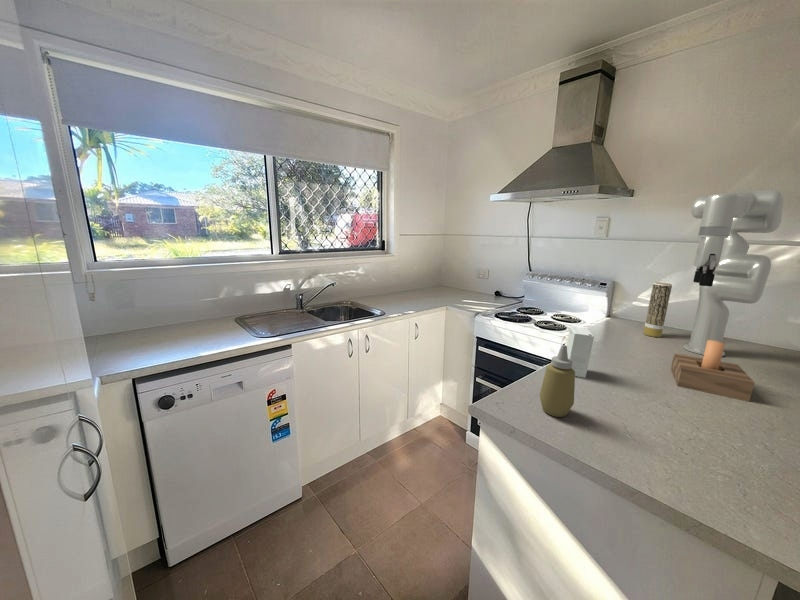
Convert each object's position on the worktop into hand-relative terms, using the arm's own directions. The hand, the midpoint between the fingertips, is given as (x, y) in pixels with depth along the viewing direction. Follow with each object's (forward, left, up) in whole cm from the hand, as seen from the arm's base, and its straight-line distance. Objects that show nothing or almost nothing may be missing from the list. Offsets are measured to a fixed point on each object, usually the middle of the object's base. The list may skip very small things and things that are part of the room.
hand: (702, 284), depth 111 cm
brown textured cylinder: (-42, -6, -31) cm, 52 cm away
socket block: (+13, +4, -30) cm, 33 cm away
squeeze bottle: (+61, -34, -31) cm, 76 cm away
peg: (+13, +4, -30) cm, 33 cm away
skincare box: (+30, -32, -31) cm, 53 cm away
